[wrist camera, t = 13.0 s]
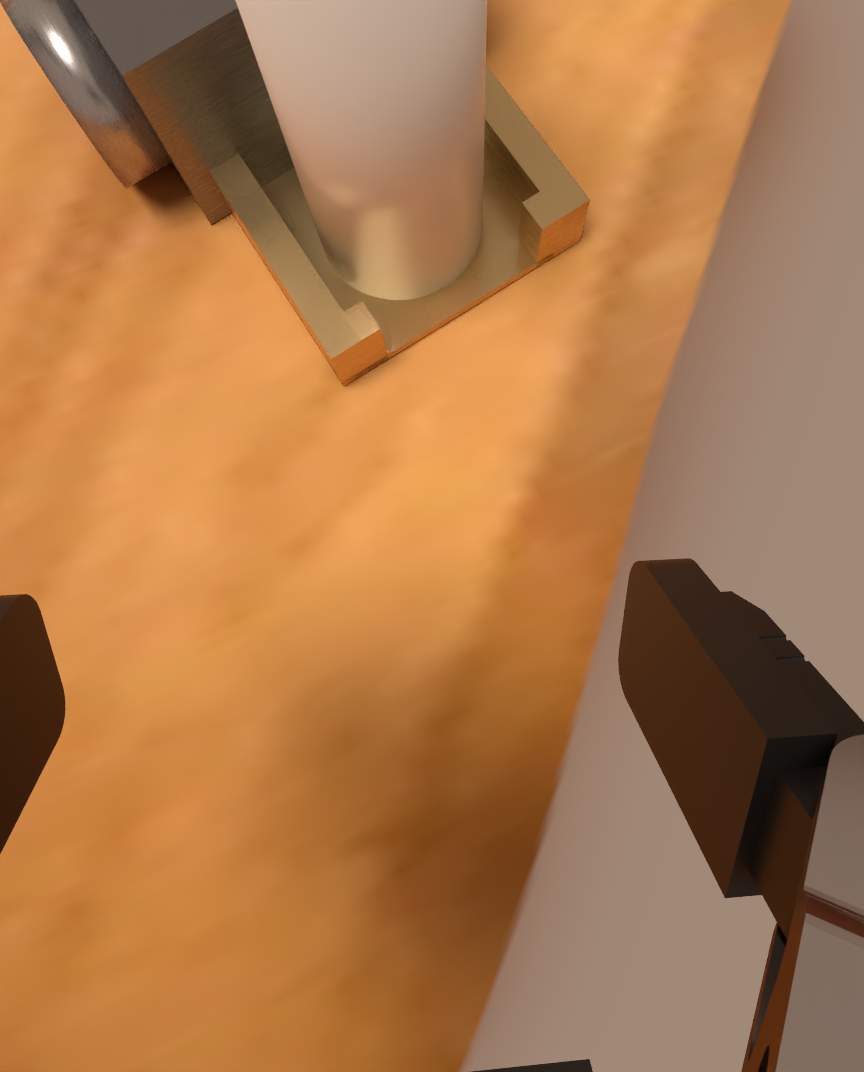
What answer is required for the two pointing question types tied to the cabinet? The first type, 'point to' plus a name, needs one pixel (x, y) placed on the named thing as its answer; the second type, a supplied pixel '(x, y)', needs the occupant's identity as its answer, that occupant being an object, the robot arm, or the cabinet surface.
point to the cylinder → (382, 130)
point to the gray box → (279, 160)
